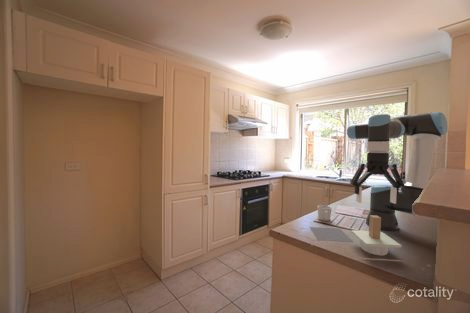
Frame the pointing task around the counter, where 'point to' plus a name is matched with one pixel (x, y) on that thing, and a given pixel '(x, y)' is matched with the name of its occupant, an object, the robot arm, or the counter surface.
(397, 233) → the counter surface
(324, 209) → the cup
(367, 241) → the cover
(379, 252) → the ramekin
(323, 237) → the mat
